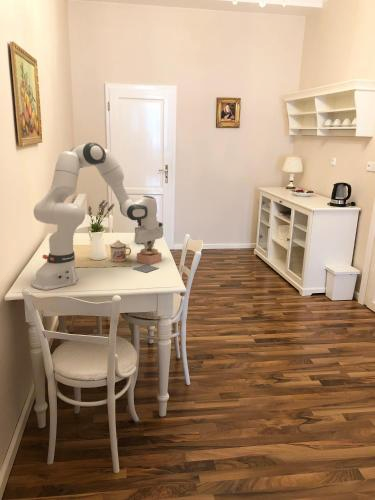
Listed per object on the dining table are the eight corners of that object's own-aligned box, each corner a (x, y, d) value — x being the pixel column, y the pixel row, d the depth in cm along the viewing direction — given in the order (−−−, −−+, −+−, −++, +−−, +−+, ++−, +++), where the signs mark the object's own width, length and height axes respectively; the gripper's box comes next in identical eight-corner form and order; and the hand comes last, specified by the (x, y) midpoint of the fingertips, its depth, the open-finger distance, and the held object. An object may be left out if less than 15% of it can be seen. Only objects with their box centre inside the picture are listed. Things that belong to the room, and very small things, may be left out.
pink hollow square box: (149, 265, 227) (149, 256, 226) (136, 261, 233) (136, 253, 232) (161, 261, 235) (161, 252, 234) (148, 257, 241) (148, 249, 239)
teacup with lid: (111, 262, 230) (111, 243, 226) (109, 258, 238) (109, 239, 235) (132, 261, 233) (132, 241, 230) (129, 256, 242) (129, 238, 238)
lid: (149, 255, 226) (149, 247, 224) (136, 251, 232) (136, 243, 230) (161, 251, 233) (161, 243, 232) (148, 248, 239) (148, 240, 238)
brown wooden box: (133, 240, 279) (133, 214, 274) (149, 239, 282) (149, 214, 277) (137, 246, 264) (137, 219, 259) (154, 245, 267) (154, 218, 262)
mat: (146, 273, 214) (146, 272, 214) (132, 268, 220) (132, 268, 220) (158, 268, 222) (158, 267, 222) (145, 264, 228) (145, 264, 228)
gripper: (139, 228, 218) (140, 252, 222) (165, 222, 234) (164, 245, 238) (131, 226, 222) (132, 250, 226) (157, 221, 238) (156, 243, 241)
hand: (149, 248), depth 232 cm, fingers closed on lid, 3 cm apart
